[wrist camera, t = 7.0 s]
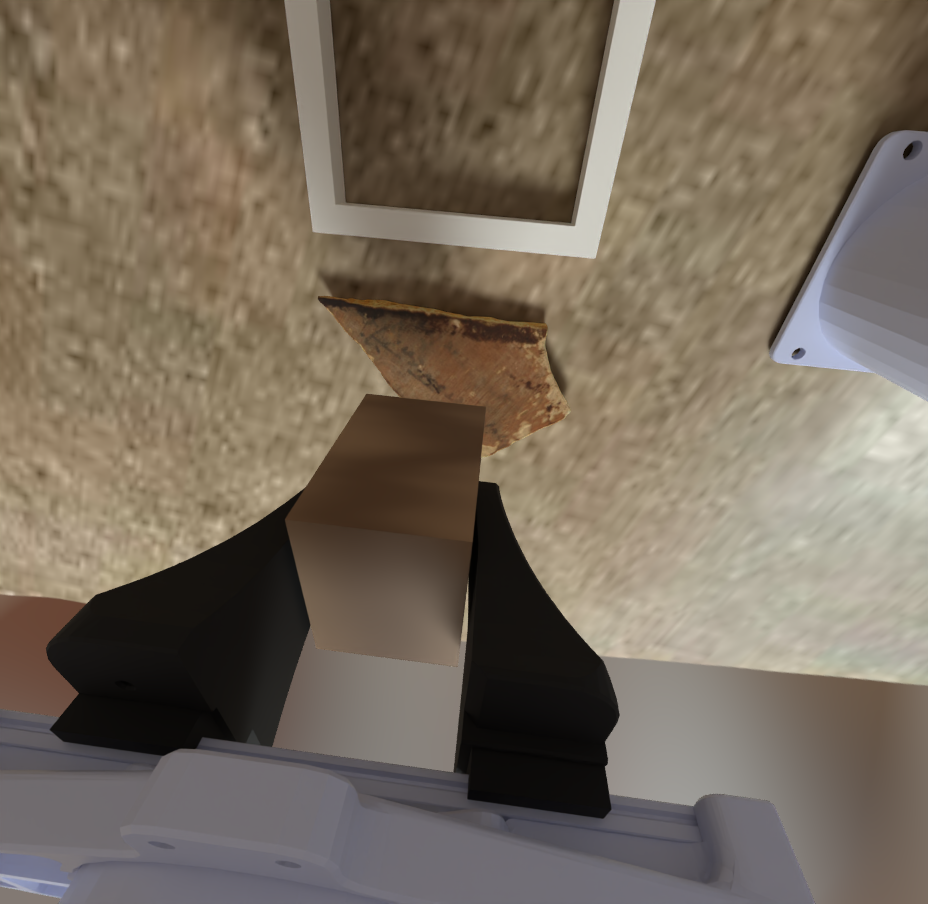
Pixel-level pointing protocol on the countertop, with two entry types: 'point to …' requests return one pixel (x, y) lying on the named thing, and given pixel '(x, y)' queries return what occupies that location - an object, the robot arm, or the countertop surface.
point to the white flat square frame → (335, 216)
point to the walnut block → (391, 530)
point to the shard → (460, 363)
